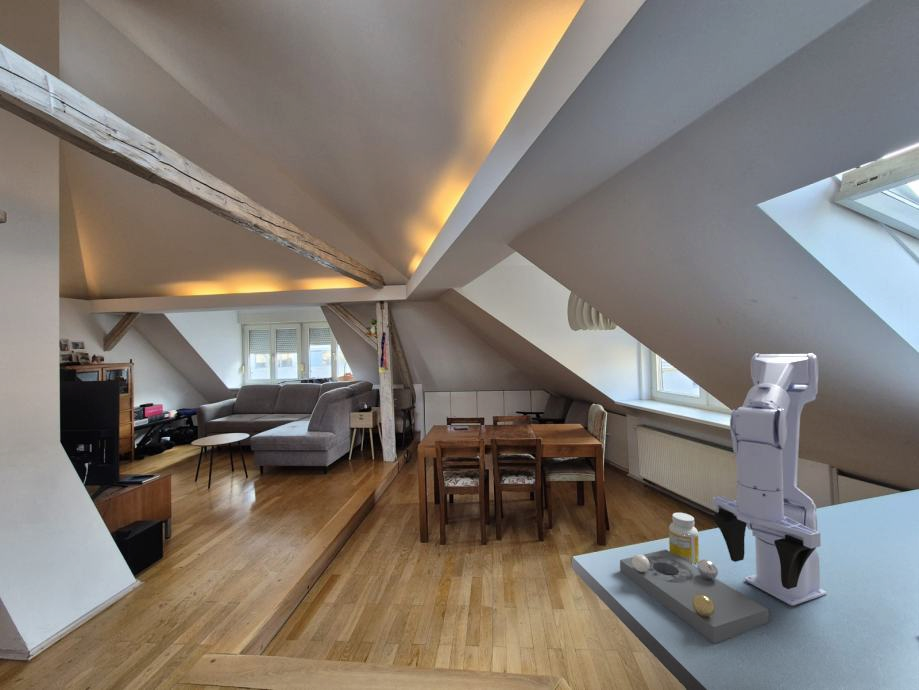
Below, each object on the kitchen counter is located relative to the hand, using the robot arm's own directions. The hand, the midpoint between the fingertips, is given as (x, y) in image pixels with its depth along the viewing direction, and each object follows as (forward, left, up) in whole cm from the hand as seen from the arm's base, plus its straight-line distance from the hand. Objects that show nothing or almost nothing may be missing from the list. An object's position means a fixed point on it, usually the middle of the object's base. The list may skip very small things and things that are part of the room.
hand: (761, 572), depth 59 cm
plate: (+2, -12, -10) cm, 15 cm away
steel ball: (-2, -11, -6) cm, 13 cm away
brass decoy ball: (+8, -4, -6) cm, 10 cm away
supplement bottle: (-7, -20, -10) cm, 23 cm away
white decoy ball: (+8, -17, -6) cm, 19 cm away
